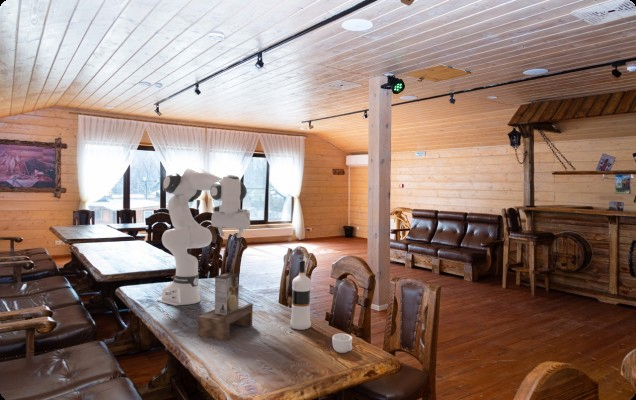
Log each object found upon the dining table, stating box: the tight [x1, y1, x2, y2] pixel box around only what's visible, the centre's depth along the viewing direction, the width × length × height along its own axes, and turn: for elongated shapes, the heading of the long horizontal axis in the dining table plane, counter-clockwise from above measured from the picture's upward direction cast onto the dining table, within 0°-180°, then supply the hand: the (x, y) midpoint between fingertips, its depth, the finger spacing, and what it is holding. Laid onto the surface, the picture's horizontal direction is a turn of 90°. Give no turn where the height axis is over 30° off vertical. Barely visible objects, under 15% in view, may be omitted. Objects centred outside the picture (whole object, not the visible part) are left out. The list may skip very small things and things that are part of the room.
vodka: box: [289, 260, 312, 331], centre depth 188 cm, size 9×9×30 cm
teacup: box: [331, 333, 353, 354], centre depth 162 cm, size 10×8×5 cm
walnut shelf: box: [197, 303, 254, 342], centre depth 181 cm, size 14×20×10 cm
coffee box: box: [214, 272, 240, 315], centre depth 181 cm, size 9×6×16 cm
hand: (230, 236), depth 205 cm, fingers open, 8 cm apart
